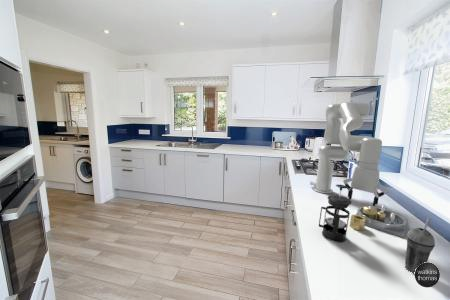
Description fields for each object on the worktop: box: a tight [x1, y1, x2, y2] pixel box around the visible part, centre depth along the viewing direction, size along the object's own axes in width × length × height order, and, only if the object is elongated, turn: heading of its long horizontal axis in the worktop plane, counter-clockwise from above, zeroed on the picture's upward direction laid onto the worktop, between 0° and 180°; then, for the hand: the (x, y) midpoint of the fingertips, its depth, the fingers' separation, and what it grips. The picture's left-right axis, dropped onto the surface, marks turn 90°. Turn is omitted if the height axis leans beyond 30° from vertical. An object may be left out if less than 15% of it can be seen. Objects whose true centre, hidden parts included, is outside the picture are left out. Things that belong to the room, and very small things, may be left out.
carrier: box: [355, 204, 408, 239], centre depth 109 cm, size 20×20×7 cm
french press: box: [318, 184, 352, 243], centre depth 92 cm, size 12×9×23 cm
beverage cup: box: [404, 216, 436, 275], centre depth 73 cm, size 7×7×20 cm
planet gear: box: [349, 214, 366, 231], centre depth 102 cm, size 6×6×5 cm
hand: (361, 201), depth 100 cm, fingers open, 9 cm apart
